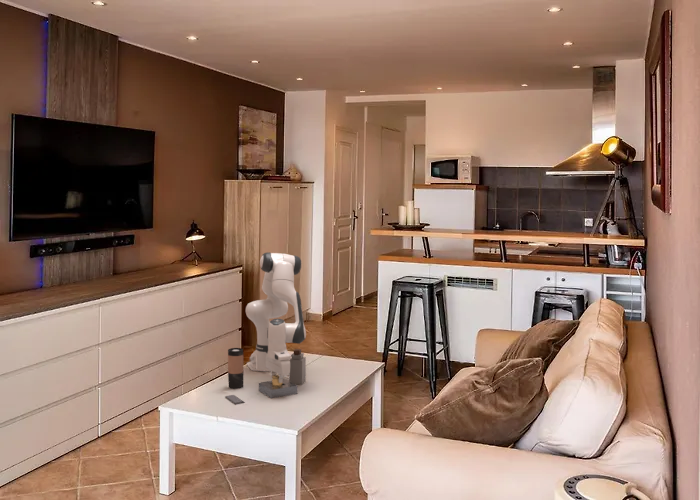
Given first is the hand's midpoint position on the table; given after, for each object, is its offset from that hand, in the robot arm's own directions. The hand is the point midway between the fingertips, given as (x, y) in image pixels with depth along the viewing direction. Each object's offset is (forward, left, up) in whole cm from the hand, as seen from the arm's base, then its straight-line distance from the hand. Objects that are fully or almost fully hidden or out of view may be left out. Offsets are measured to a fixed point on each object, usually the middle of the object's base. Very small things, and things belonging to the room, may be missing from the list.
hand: (277, 380), depth 326 cm
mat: (-2, -18, -7) cm, 19 cm away
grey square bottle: (-10, +16, -7) cm, 20 cm away
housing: (0, 0, -7) cm, 7 cm away
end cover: (0, 0, -6) cm, 6 cm away
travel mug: (-19, -14, -7) cm, 24 cm away
